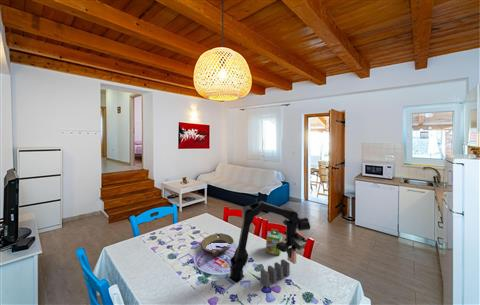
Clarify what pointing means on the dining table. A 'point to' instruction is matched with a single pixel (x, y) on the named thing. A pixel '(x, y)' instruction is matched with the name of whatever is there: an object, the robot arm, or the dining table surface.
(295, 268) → the dining table surface
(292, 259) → the tan rectangular block
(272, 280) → the domino
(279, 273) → the domino
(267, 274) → the domino
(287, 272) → the domino
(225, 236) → the olive oval ring
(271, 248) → the chalk box
